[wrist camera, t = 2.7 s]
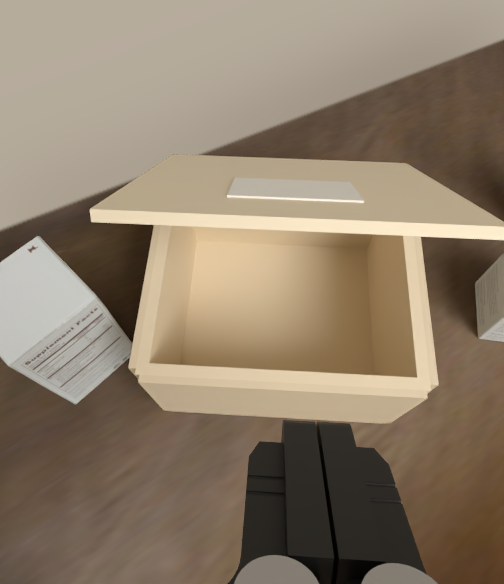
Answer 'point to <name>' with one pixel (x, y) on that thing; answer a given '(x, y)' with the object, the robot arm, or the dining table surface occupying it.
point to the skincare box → (491, 302)
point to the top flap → (296, 198)
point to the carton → (284, 324)
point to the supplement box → (56, 324)
